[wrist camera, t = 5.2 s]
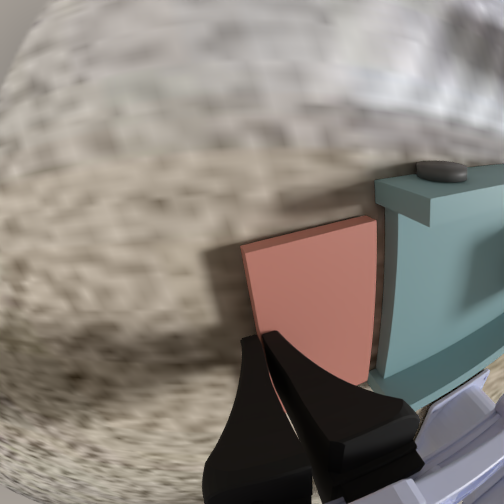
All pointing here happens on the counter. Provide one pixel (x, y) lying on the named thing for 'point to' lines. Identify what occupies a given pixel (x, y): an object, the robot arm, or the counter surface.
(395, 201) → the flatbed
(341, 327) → the panel
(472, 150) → the counter surface
